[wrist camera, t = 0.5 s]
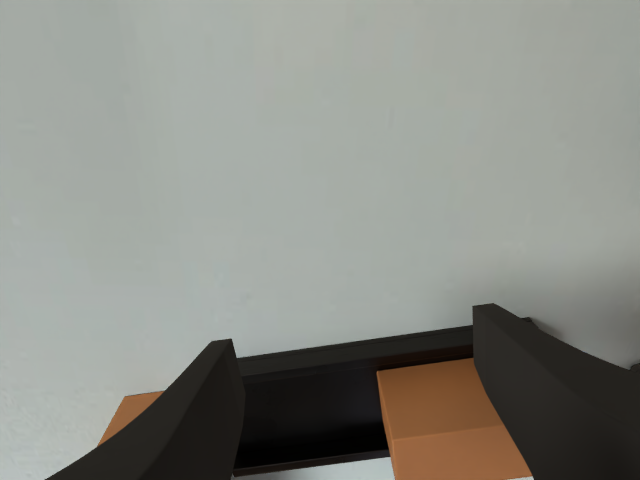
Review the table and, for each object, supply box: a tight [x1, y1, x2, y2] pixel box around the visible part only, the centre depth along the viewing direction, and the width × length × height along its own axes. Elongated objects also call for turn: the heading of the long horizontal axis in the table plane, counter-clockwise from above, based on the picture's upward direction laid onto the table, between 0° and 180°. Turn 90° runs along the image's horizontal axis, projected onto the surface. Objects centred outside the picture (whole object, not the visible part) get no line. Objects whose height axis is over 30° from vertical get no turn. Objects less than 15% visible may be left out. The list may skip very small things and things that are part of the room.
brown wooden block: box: [377, 358, 532, 480], centre depth 23 cm, size 3×8×5 cm, turn 99°
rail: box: [233, 317, 539, 477], centre depth 25 cm, size 7×18×2 cm, turn 99°
